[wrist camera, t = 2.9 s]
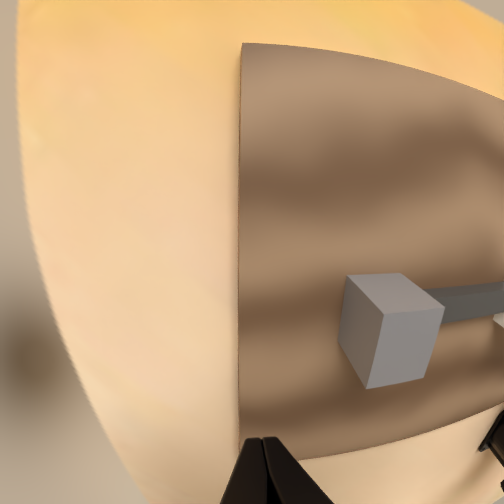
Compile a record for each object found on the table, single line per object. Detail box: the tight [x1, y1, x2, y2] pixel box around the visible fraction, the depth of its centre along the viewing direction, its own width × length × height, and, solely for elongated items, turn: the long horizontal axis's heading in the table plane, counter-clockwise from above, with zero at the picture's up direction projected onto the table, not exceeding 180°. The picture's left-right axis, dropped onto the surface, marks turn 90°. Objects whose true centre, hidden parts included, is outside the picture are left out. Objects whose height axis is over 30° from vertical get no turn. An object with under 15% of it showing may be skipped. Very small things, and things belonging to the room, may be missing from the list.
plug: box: [337, 273, 504, 389], centre depth 14 cm, size 4×19×4 cm, turn 89°
